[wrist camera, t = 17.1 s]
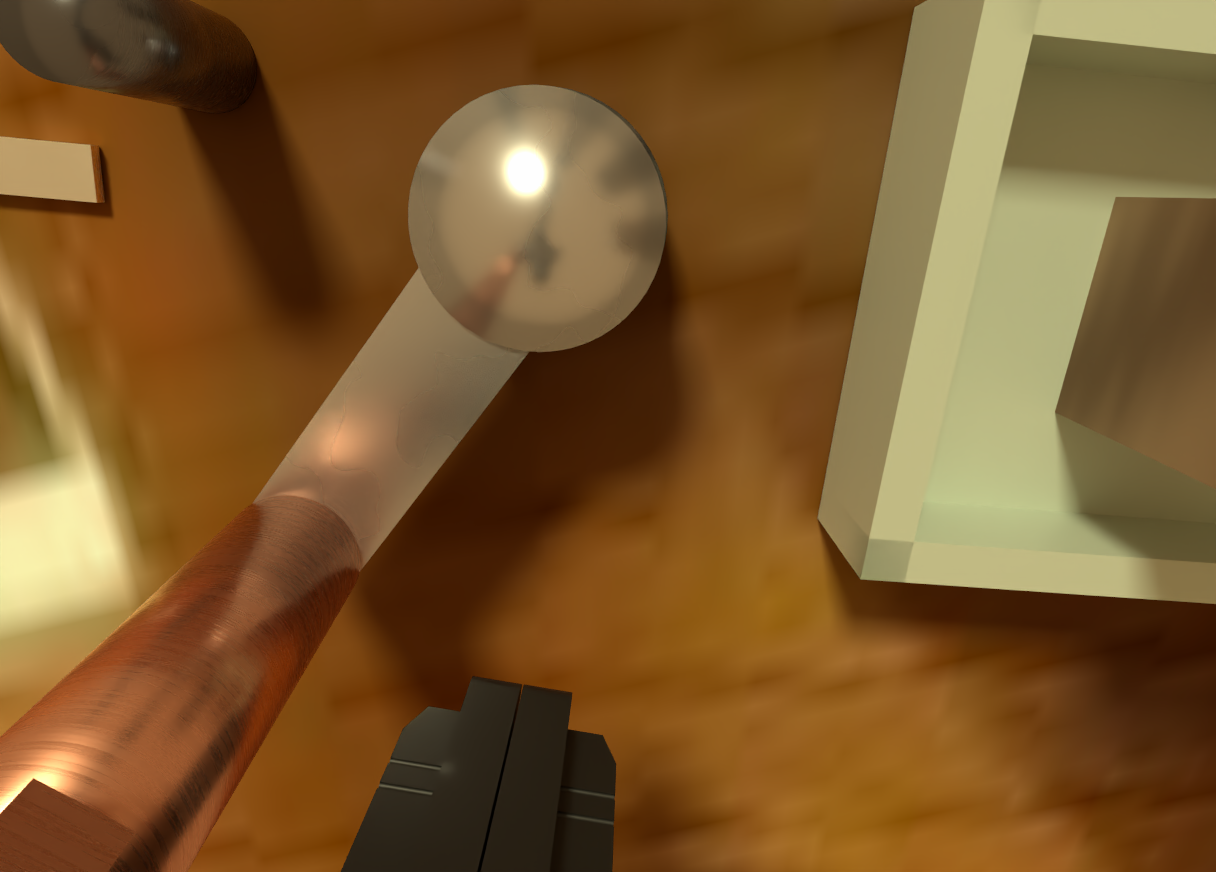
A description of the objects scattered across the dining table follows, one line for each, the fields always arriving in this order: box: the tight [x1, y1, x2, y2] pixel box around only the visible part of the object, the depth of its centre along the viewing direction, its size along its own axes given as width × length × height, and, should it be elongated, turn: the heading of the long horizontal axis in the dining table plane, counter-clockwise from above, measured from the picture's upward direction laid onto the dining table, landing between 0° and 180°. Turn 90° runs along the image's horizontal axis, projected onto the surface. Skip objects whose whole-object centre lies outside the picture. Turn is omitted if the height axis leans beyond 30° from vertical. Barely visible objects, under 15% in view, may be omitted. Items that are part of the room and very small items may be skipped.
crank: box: [0, 85, 666, 872], centre depth 11 cm, size 12×4×11 cm, turn 142°
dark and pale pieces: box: [0, 0, 668, 249], centre depth 15 cm, size 6×16×5 cm, turn 85°
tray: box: [818, 0, 1216, 604], centre depth 17 cm, size 12×15×3 cm
